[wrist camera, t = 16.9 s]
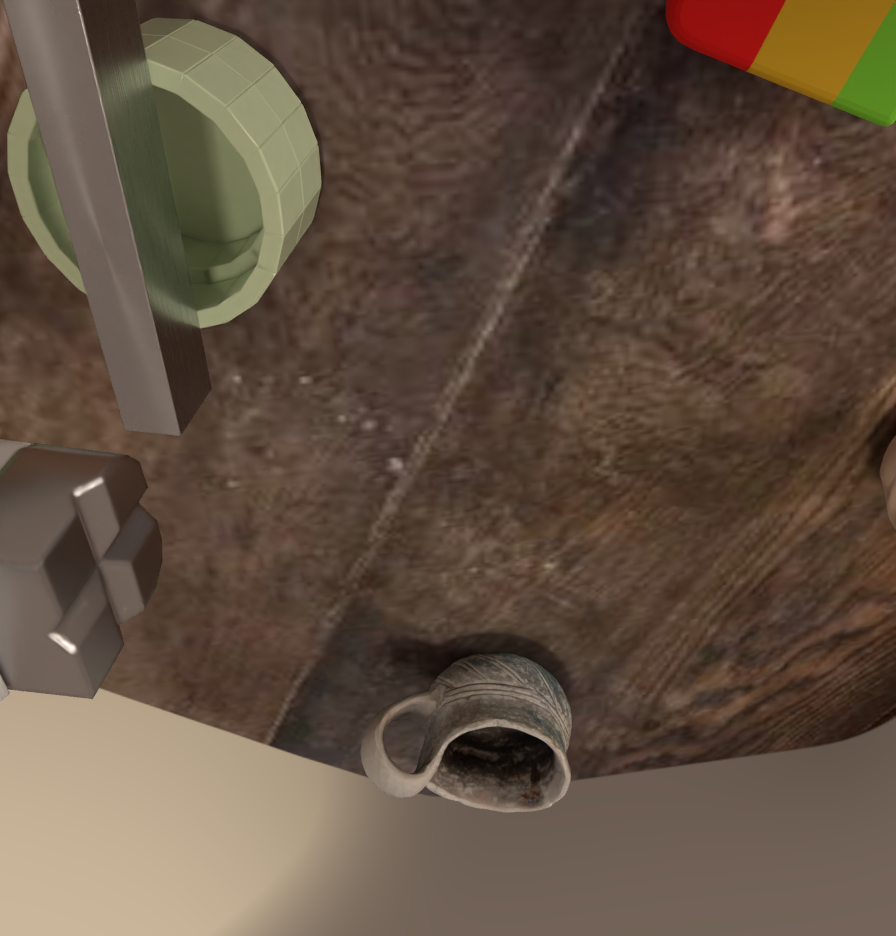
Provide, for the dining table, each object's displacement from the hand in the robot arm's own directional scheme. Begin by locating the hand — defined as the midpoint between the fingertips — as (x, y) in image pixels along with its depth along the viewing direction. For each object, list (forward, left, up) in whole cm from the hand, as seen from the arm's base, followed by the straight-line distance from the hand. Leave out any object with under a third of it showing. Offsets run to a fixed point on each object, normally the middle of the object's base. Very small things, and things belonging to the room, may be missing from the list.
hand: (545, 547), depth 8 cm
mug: (+40, -3, -29) cm, 50 cm away
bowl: (+7, -16, -29) cm, 34 cm away
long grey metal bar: (+7, -16, -23) cm, 29 cm away
